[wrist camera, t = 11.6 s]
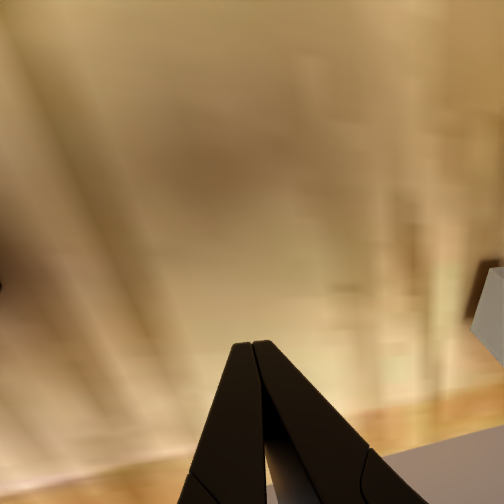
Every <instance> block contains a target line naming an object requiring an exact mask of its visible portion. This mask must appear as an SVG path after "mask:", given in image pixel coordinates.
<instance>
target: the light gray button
mask: <svg viewBox="0 0 504 504" xmlns="http://www.w3.org/2000/svg"><path fill="white" fill-rule="evenodd" d="M470 331H471V332H472V333H473V334H474V335H475V336H476V337H477V338H478V340H479V341H480V342H481V343H482V344H483V345H484V346H485V347H486V348H487V350H488V351H489V352H490V353H491V354H492V355H493V356H494V357H495V359H496V360H497V361H498V362H499V363H500V364H501V365H502V366H503V367H504V267H495V268H490V269H489V272H488V275H487V278H486V282H485V285H484V288H483V291H482V294H481V297H480V300H479V303H478V307H477V310H476V313H475V316H474V319H473V322H472V325H471V328H470Z"/></svg>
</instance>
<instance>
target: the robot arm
mask: <svg viewBox="0 0 504 504" xmlns="http://www.w3.org/2000/svg"><path fill="white" fill-rule="evenodd" d="M1 290H2V284H1V283H0V292H1ZM265 456H266V459H267V463H268V467H269V471H270V474H271V478H272V482H273V485H274V489H275V493H276V496H277V500H278V504H429V503H427V502H426V501H425V500H424V499H423V498H422V497H421V496H420V495H419V494H417V493H416V492H415V491H414V490H413V489H412V488H411V487H410V486H409V485H408V484H406V482H405V481H404V480H403V479H402V478H401V477H400V476H399V475H398V474H397V473H396V472H395V471H393V469H392V468H391V467H390V466H389V465H388V464H387V463H386V462H385V461H384V460H383V459H382V458H381V457H380V456H379V455H378V454H377V453H376V452H375V450H374V449H373V448H370V449H369V444H368V443H367V442H366V441H365V440H364V439H363V438H362V437H361V436H360V435H359V434H358V433H357V432H356V430H355V429H354V428H353V427H352V426H351V425H350V424H349V423H348V422H347V421H346V420H345V419H344V418H343V417H342V416H341V415H340V413H339V412H338V411H337V410H336V409H335V408H334V407H333V406H332V405H331V404H330V403H329V402H328V401H327V400H326V399H325V398H324V396H323V395H322V394H321V393H320V392H319V391H318V390H317V389H316V388H315V387H314V386H313V385H312V384H311V383H310V382H309V381H308V380H307V378H306V377H305V376H304V375H303V374H302V373H301V372H300V371H299V370H298V369H297V368H296V367H295V366H294V365H293V364H292V363H291V361H290V360H289V359H288V358H287V357H286V356H285V355H284V354H283V353H282V352H281V351H280V350H279V349H278V348H277V347H276V346H275V344H274V343H273V342H272V341H270V340H262V341H254V342H253V343H252V344H251V343H250V342H243V343H235V344H233V346H232V348H231V351H230V354H229V356H228V359H227V362H226V365H225V368H224V371H223V374H222V377H221V380H220V382H219V385H218V388H217V391H216V394H215V397H214V400H213V403H212V406H211V408H210V411H209V414H208V417H207V420H206V423H205V426H204V429H203V432H202V434H201V437H200V440H199V443H198V446H197V449H196V452H195V455H194V457H193V460H192V463H191V466H190V469H189V474H188V475H187V477H186V480H185V483H184V486H183V489H182V491H181V494H180V497H179V499H178V502H177V504H267V493H266V469H265Z"/></svg>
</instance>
